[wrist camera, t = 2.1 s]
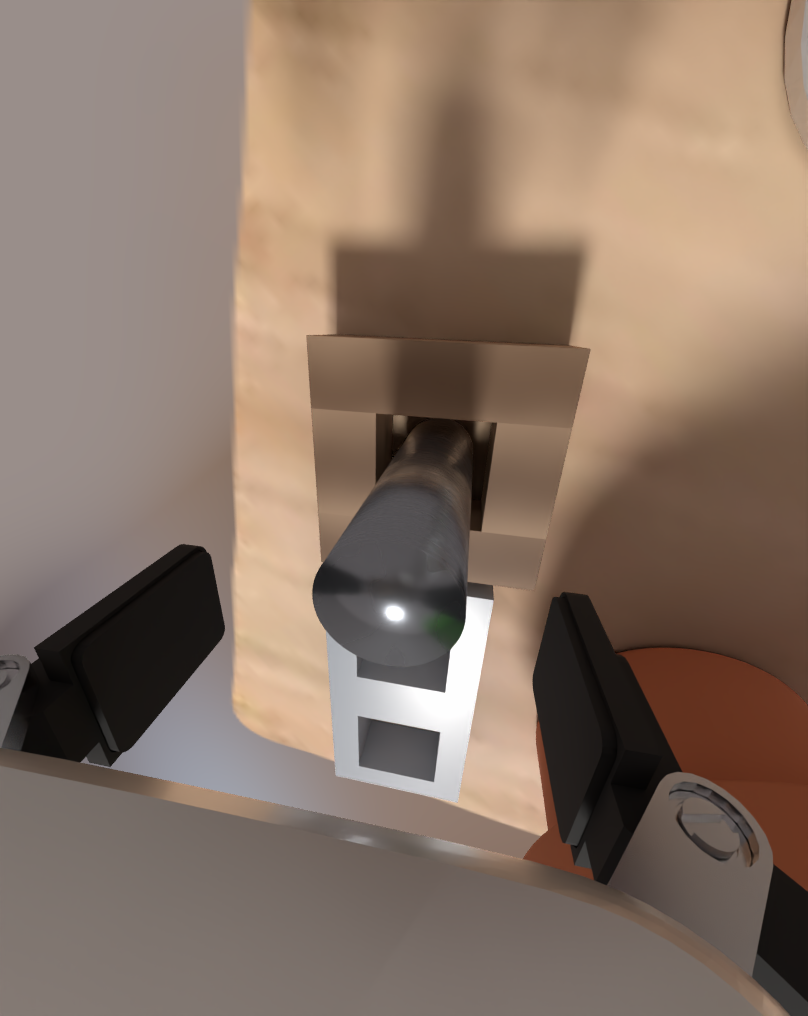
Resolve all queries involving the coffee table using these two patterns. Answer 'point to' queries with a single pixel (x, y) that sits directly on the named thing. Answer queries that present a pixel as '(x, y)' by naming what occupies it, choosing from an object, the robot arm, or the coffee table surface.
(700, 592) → the coffee table surface
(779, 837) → the potted cactus
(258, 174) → the coffee table surface
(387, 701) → the peg rack
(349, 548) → the metal peg
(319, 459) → the socket block
